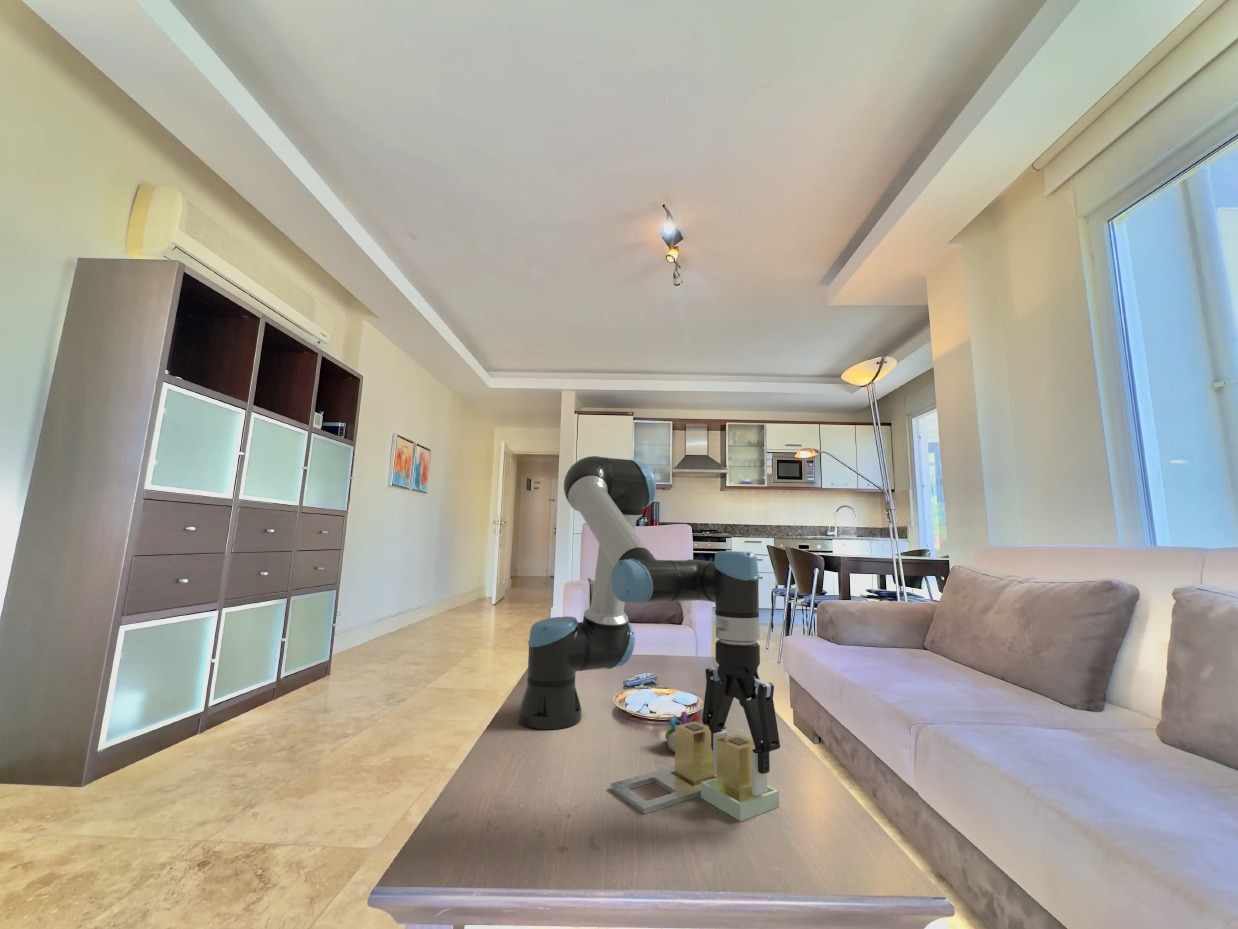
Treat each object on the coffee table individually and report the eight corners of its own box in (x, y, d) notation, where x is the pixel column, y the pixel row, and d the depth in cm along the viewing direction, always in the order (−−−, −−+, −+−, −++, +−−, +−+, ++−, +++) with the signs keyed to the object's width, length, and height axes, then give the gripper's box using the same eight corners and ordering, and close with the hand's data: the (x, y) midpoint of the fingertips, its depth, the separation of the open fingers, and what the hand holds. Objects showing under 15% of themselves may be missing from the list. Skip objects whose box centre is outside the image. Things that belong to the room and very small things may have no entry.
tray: (700, 797, 87) (700, 782, 87) (738, 785, 92) (738, 770, 92) (740, 821, 80) (740, 804, 80) (779, 806, 85) (779, 790, 85)
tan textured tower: (675, 778, 94) (675, 725, 96) (695, 772, 97) (695, 720, 98) (693, 789, 90) (693, 733, 92) (714, 782, 93) (714, 728, 94)
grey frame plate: (610, 788, 90) (610, 783, 90) (696, 764, 100) (696, 760, 101) (644, 814, 81) (644, 808, 81) (734, 784, 92) (734, 779, 92)
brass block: (717, 797, 87) (717, 738, 88) (738, 789, 89) (737, 733, 91) (739, 809, 82) (738, 748, 84) (761, 802, 85) (759, 742, 87)
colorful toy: (710, 759, 103) (710, 720, 104) (662, 754, 105) (662, 716, 107) (712, 744, 111) (712, 708, 113) (667, 739, 114) (668, 704, 115)
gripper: (681, 633, 96) (681, 764, 93) (770, 653, 79) (774, 816, 76) (711, 630, 101) (712, 756, 97) (801, 649, 83) (806, 803, 80)
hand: (739, 782), depth 86 cm, fingers open, 8 cm apart
